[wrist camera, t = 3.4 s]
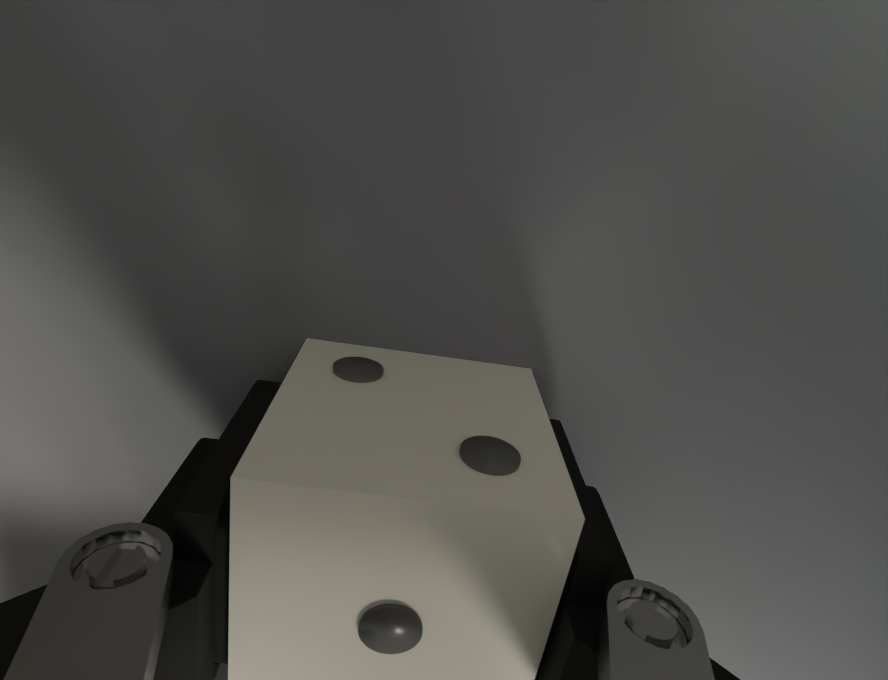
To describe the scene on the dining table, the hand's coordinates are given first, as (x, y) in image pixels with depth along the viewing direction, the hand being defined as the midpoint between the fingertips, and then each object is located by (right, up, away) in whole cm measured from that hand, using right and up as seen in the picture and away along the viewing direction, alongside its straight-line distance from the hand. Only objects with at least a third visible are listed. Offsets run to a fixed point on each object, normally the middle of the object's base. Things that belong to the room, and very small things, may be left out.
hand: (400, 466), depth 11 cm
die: (0, 0, +1) cm, 1 cm away
